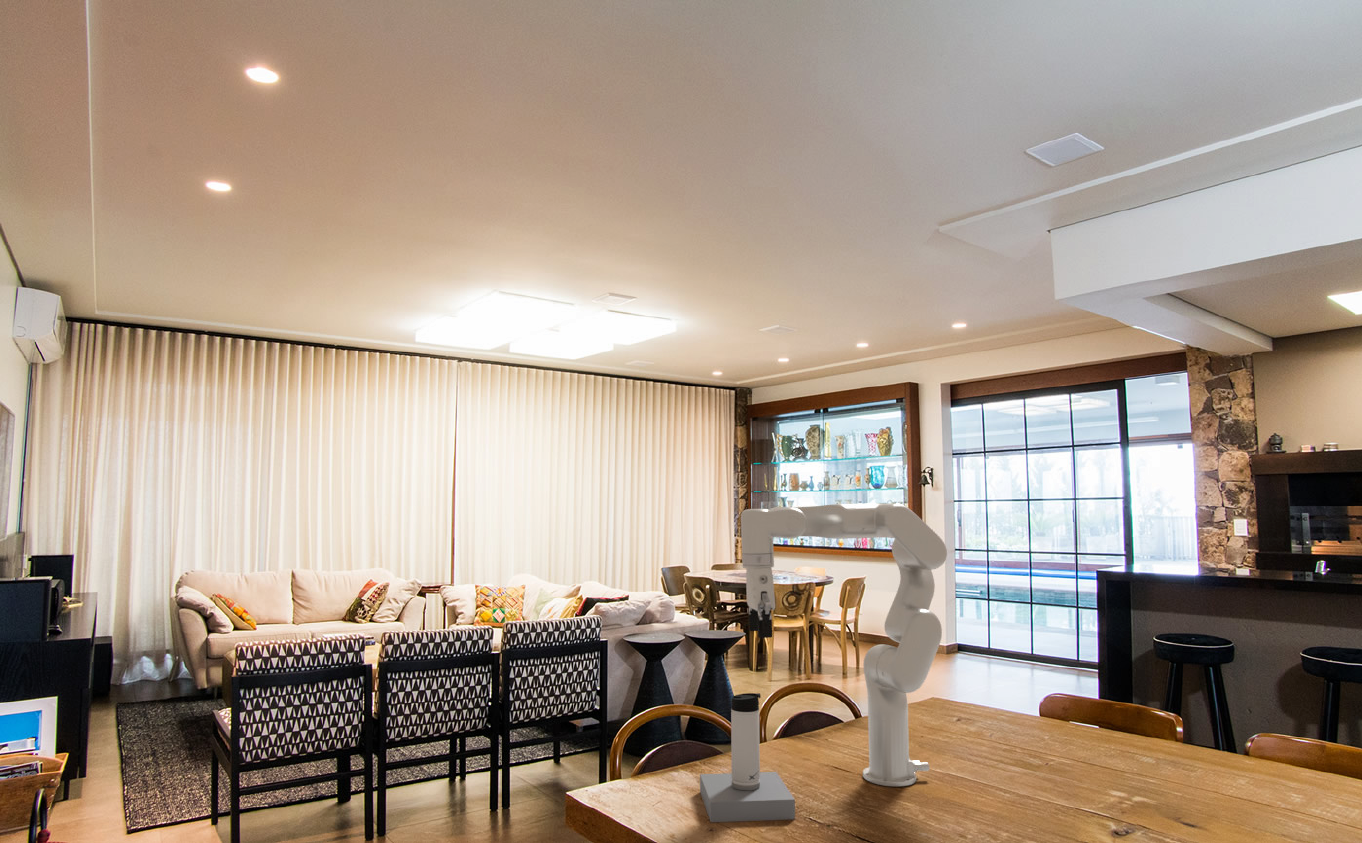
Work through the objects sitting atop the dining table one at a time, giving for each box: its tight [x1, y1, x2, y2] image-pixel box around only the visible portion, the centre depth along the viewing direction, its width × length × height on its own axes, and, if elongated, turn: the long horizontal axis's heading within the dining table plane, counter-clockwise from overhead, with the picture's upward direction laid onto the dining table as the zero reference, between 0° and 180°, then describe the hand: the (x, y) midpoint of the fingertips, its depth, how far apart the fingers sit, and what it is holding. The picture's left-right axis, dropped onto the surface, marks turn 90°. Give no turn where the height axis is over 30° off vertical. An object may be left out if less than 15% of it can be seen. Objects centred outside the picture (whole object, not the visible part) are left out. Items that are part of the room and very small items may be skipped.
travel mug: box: [730, 692, 762, 791], centre depth 181 cm, size 6×7×20 cm
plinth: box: [699, 771, 796, 823], centre depth 179 cm, size 18×18×4 cm
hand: (760, 633), depth 191 cm, fingers open, 9 cm apart
